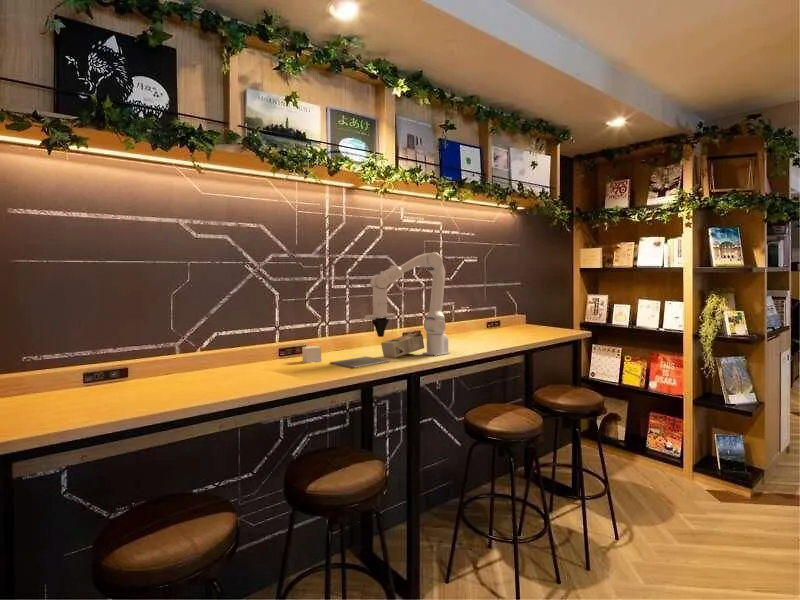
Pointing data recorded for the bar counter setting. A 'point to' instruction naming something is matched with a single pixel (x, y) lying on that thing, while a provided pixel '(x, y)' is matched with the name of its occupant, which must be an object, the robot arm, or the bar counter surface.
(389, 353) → the coffee box
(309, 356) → the white cube
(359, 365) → the mat
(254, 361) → the bar counter surface
